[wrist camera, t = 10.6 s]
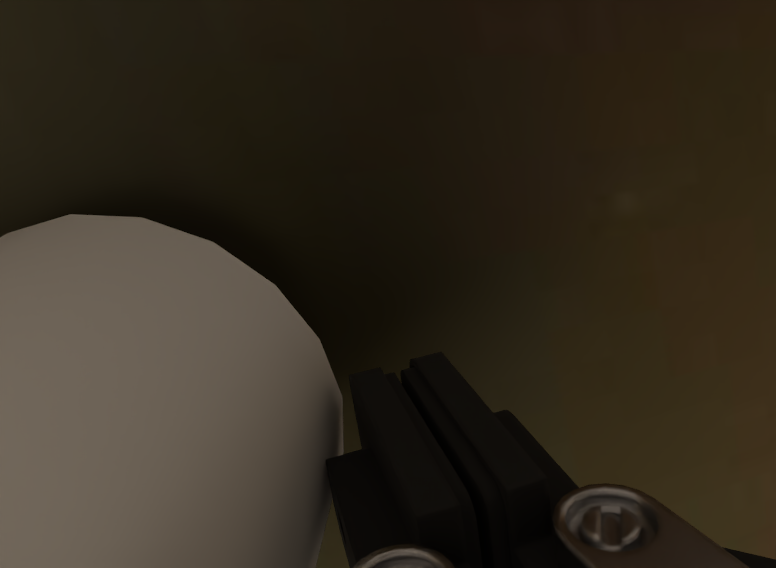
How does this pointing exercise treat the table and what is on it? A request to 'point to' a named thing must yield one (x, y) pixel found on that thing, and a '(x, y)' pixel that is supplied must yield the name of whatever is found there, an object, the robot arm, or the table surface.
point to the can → (156, 404)
